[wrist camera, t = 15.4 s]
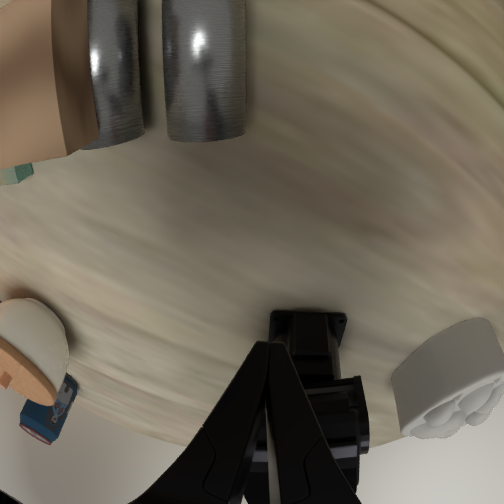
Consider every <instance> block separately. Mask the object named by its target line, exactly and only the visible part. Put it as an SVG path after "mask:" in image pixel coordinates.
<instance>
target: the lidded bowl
mask: <svg viewBox="0 0 504 504" xmlns="http://www.w3.org/2000/svg"><path fill="white" fill-rule="evenodd" d="M65 334H66V332H65V328H64V325H63V323H62V322H61V320H60V319H59V318H58V316H57V315H56V314H55V313H54V312H53V311H52V310H51V309H50V308H49V307H47V306H46V305H45V304H43V303H42V302H40V301H38V300H36V299H34V298H29V297H27V298H24V299H10V300H6V301H4V302H2V303H0V386H1V387H2V388H3V389H5V390H6V389H7V387H8V386H9V387H10V388H12V389H13V390H15V391H16V392H18V393H19V394H21V395H23V396H24V397H26V398H28V399H29V400H31V401H34V402H36V403H38V404H41V405H45V406H51V405H53V404H54V403H55V401H56V399H57V394H58V392H59V390H60V388H61V385H62V383H63V381H64V378H65V375H66V371H67V367H68V362H69V349H68V344H67V340H66V336H65Z"/></svg>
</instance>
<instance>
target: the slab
mask: <svg viewBox="0 0 504 504" xmlns="http://www.w3.org/2000/svg"><path fill="white" fill-rule="evenodd" d="M98 138H100V137H99V131H98V125H97V118H96V111H95V104H94V96H93V88H92V78H91V68H90V56H89V41H88V16H87V0H13V1H11V2H10V3H8V4H7V5H5V6H4V7H2V8H1V9H0V170H1V169H6V168H10V167H14V166H19V165H23V164H28V163H33V162H38V161H43V160H48V159H53V158H59V157H65V156H68V155H70V154H72V153H73V152H75V151H77V150H78V149H80V148H82V147H84V146H85V145H87V144H89V143H91V142H93V141H94V140H96V139H98Z"/></svg>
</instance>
